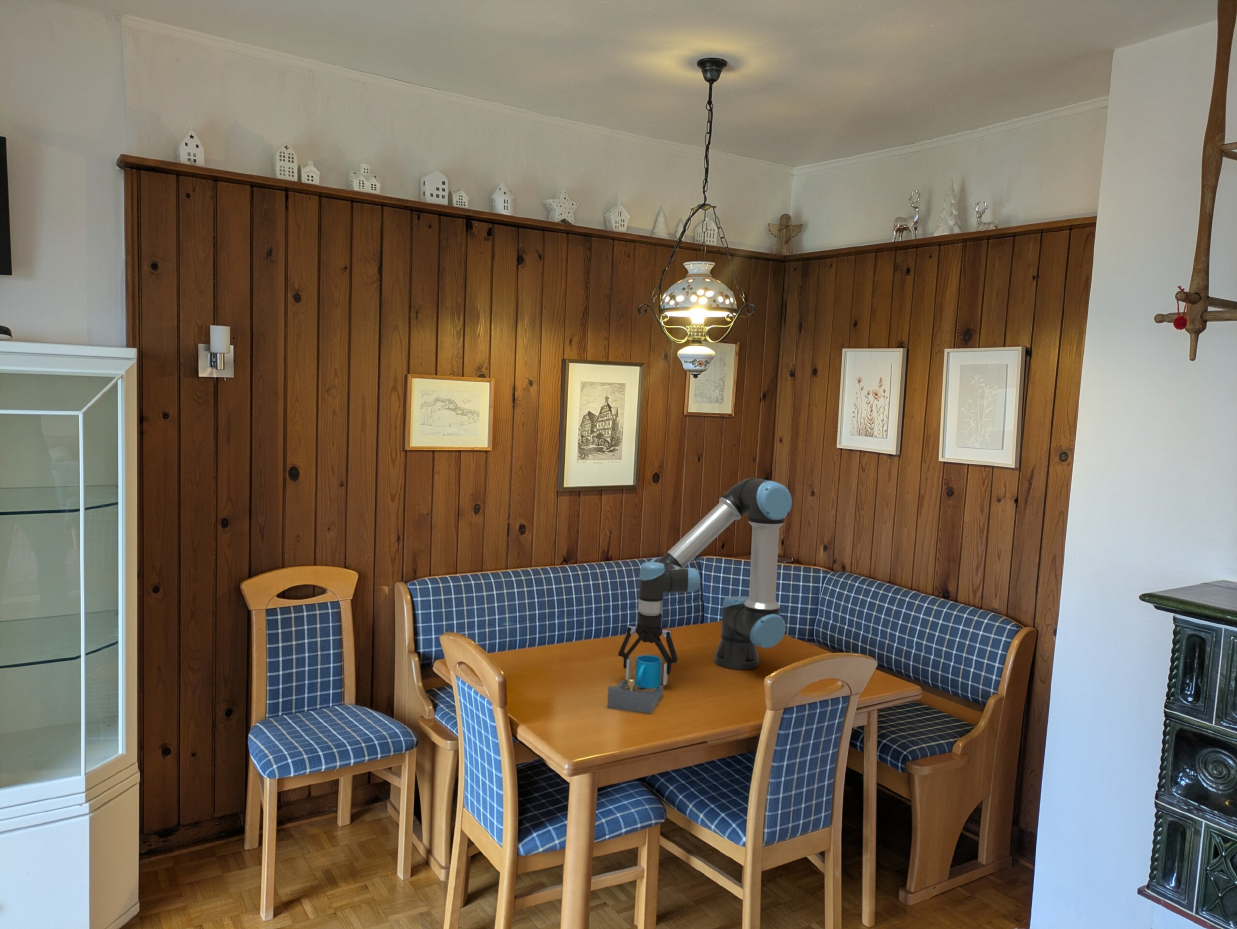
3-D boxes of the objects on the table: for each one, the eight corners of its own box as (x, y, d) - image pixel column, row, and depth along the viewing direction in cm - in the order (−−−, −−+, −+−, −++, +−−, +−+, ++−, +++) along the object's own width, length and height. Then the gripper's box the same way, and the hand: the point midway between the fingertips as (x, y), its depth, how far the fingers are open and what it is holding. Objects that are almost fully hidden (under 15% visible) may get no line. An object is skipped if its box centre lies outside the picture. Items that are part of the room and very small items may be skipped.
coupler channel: (662, 695, 266) (664, 666, 265) (651, 714, 250) (652, 683, 249) (621, 689, 269) (622, 661, 268) (607, 707, 253) (608, 677, 252)
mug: (640, 678, 281) (641, 653, 280) (664, 683, 277) (665, 657, 277) (625, 689, 270) (627, 663, 269) (650, 694, 266) (651, 668, 266)
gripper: (689, 613, 272) (685, 682, 274) (616, 605, 278) (613, 672, 280) (685, 619, 265) (681, 690, 267) (610, 611, 271) (606, 680, 273)
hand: (646, 681), depth 273 cm, fingers open, 11 cm apart
